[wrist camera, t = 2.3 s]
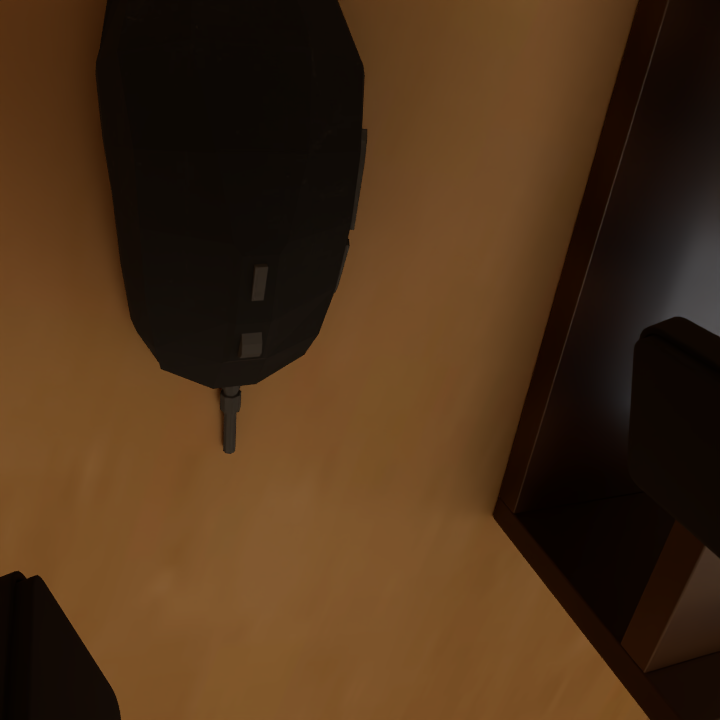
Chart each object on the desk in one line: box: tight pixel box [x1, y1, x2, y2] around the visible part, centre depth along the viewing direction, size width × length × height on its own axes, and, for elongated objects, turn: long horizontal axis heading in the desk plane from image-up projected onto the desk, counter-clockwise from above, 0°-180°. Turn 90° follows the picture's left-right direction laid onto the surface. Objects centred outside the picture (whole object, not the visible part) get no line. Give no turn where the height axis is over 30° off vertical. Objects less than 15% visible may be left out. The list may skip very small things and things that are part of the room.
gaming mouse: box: [96, 0, 367, 454], centre depth 18 cm, size 6×15×4 cm, turn 174°
